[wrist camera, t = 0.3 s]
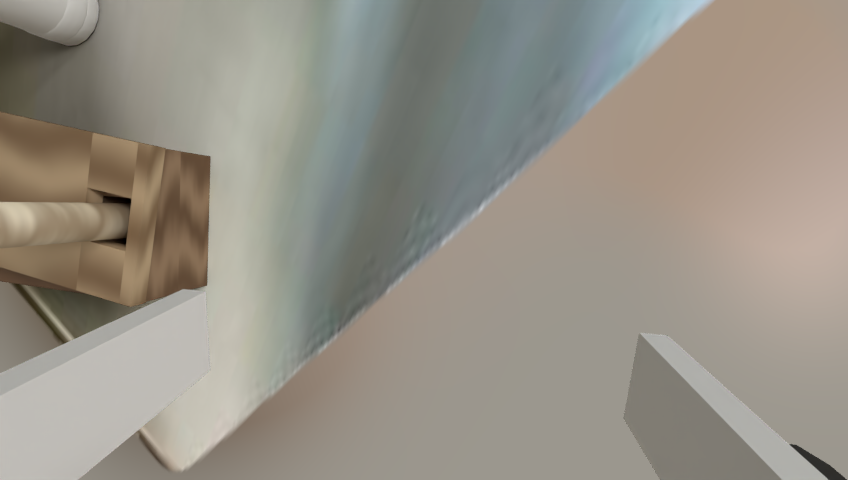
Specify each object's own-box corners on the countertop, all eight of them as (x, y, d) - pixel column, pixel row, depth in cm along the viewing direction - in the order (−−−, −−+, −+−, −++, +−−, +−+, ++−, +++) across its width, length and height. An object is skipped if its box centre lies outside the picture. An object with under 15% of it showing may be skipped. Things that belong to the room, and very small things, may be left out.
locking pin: (140, 202, 40) (-48, 201, 26) (168, 203, 39) (-10, 202, 26) (142, 234, 40) (-44, 249, 27) (169, 235, 40) (-6, 251, 26)
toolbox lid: (-47, 101, 38) (-87, 93, 36) (165, 148, 34) (137, 143, 32) (-56, 242, 40) (-95, 244, 37) (145, 302, 36) (117, 310, 33)
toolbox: (30, 144, 47) (-64, 132, 39) (210, 156, 43) (144, 145, 35) (33, 261, 48) (-58, 272, 40) (206, 285, 44) (143, 302, 36)
